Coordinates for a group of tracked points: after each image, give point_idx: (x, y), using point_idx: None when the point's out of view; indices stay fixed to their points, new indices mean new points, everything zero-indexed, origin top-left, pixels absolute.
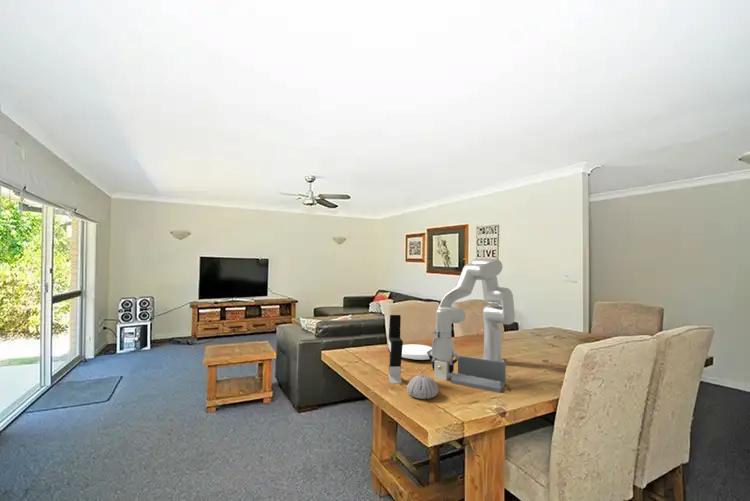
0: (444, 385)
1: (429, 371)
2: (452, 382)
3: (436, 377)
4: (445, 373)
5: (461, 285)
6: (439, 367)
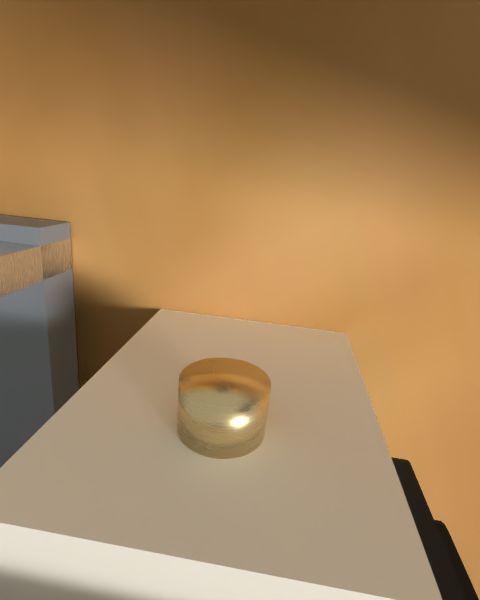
0: (101, 45)
1: (464, 556)
2: (35, 220)
3: (309, 333)
4: (134, 351)
5: None
6: (223, 384)
